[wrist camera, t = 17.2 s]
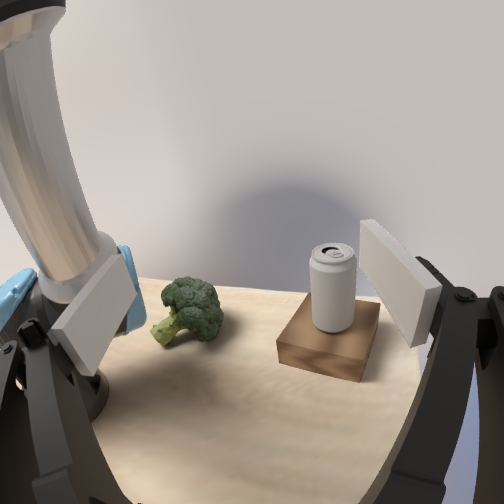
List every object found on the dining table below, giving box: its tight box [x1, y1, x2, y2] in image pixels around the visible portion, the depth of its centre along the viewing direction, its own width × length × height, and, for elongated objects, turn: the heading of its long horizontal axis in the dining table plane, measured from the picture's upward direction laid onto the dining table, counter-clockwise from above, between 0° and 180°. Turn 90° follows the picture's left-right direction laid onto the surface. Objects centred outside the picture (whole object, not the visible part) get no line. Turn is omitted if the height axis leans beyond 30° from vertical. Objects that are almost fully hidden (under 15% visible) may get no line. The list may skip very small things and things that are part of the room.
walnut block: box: [276, 293, 381, 382], centre depth 41 cm, size 13×13×5 cm
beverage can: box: [309, 243, 357, 333], centre depth 37 cm, size 6×6×12 cm
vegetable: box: [150, 277, 224, 346], centre depth 48 cm, size 12×13×15 cm
